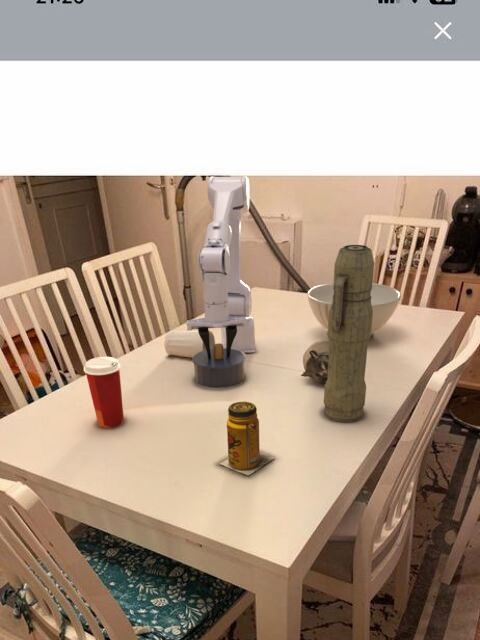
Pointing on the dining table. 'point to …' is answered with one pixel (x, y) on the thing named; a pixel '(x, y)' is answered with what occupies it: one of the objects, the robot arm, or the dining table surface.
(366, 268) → the thermos
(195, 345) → the cup
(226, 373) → the tin
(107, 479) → the dining table surface
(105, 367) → the paper cup
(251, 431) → the condiment
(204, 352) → the lid
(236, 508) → the dining table surface
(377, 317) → the decorative bowl
